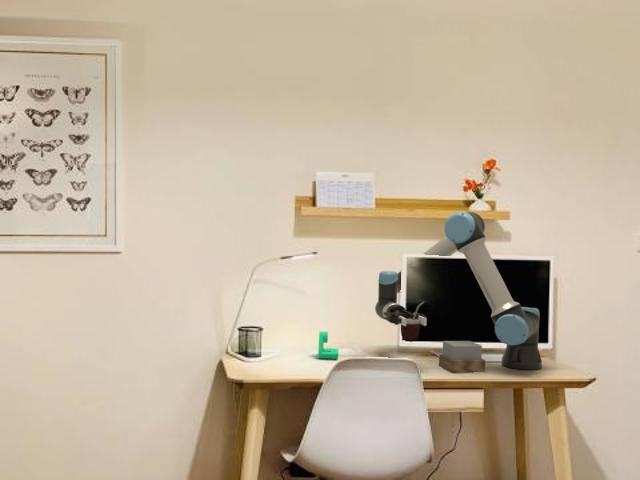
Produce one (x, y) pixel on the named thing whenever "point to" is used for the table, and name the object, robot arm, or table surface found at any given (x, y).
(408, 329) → the mate gourd
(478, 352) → the tower top
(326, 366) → the table surface
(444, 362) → the tower base
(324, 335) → the camera mount
